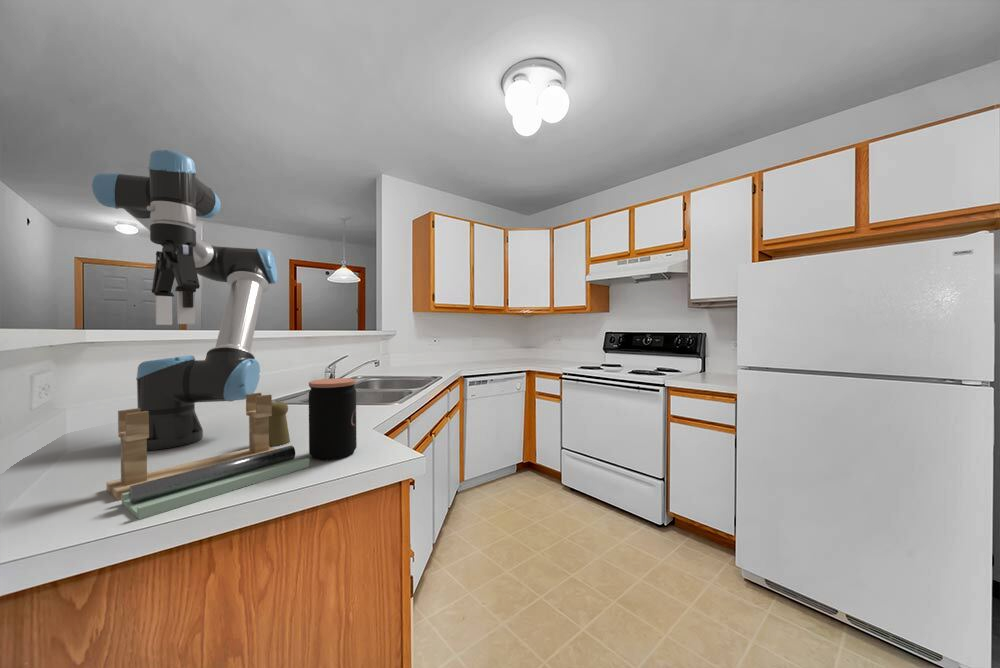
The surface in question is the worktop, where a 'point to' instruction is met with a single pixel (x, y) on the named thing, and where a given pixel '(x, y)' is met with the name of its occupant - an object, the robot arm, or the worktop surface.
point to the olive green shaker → (278, 425)
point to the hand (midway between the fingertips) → (174, 324)
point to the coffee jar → (332, 418)
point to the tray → (210, 488)
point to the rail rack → (135, 463)
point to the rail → (207, 474)
